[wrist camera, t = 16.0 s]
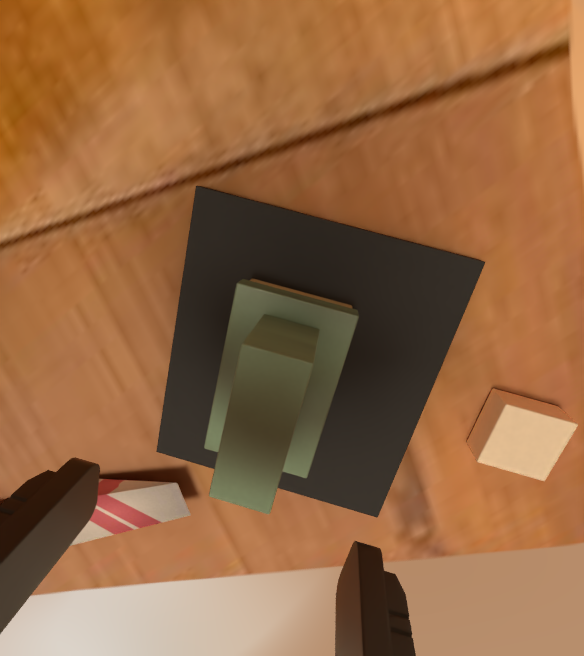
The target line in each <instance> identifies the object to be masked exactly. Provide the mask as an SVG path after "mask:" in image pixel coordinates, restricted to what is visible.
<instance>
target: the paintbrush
mask: <svg viewBox="0 0 584 656" xmlns="http://www.w3.org/2000/svg"><path fill="white" fill-rule="evenodd" d="M186 516H190V512H189V510H188V508H187V505H186V503H185V500H184V498H183V496H182V493H181V491H180V489H179V486H178V484H177V483H173V482H153V481H134V480H114V479H99V485H98V499H97V505H96V508H95V510H94V513H93V515H92V517H91V518H90V520H89V522H88V523H87V524H86V526H85V527H84V528H83V529H82V531H81V532H80V533H79V535H78V536H77V537H76V538H75V540H74V541H73V542H72V543H71V545H75V544H79V543H83V542H87V541H91V540H95V539H99V538H103V537H106V536H110V535H114V534H118V533H122V532H126V531H130V530H134V529H138V528H142V527H146V526H150V525H154V524H158V523H162V522H166V521H170V520H174V519H178V518H182V517H186ZM71 545H70V546H71Z"/></svg>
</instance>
